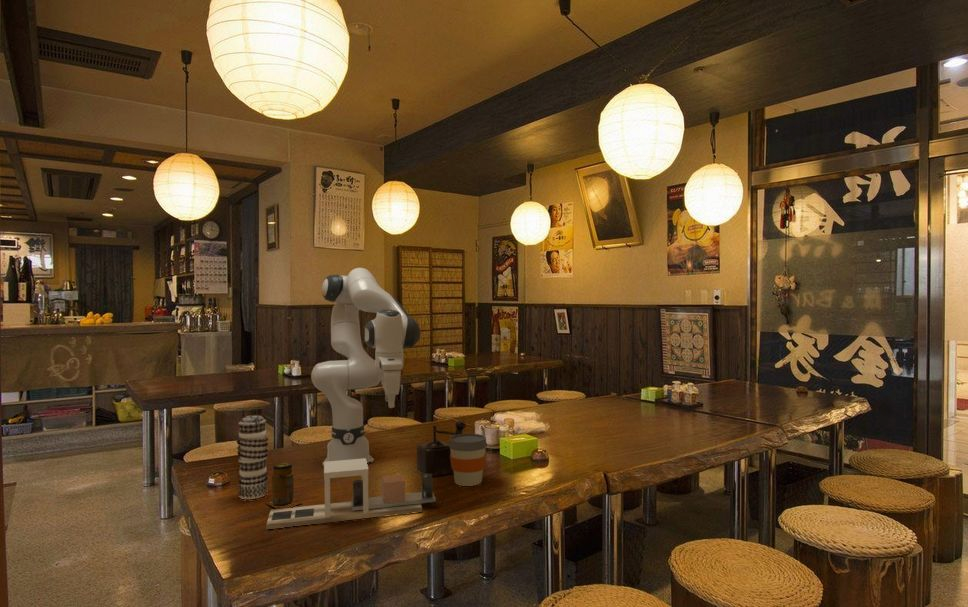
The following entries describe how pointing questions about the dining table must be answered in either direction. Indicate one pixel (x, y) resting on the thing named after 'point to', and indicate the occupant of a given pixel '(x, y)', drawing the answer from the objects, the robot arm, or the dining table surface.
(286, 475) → the condiment
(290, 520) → the track
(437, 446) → the black coffee grinder
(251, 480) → the round tower model
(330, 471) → the tunnel
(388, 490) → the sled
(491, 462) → the dining table surface
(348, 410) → the robot arm
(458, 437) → the reusable coffee cup
